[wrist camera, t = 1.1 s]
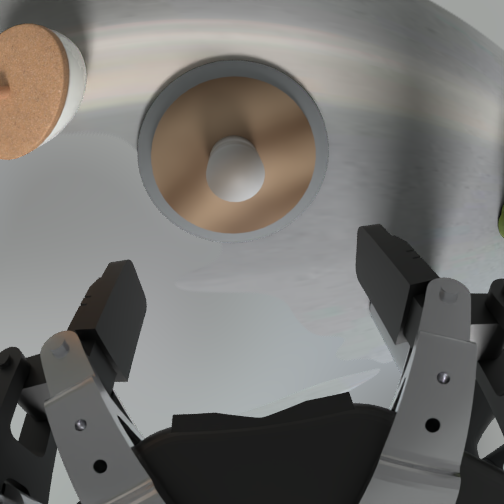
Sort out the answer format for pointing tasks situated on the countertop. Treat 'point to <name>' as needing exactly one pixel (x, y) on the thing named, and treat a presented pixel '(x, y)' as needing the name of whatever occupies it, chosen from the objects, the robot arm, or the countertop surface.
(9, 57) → the lidded jar
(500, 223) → the plant pot
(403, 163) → the countertop surface
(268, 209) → the walnut lid
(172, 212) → the rubber mat
